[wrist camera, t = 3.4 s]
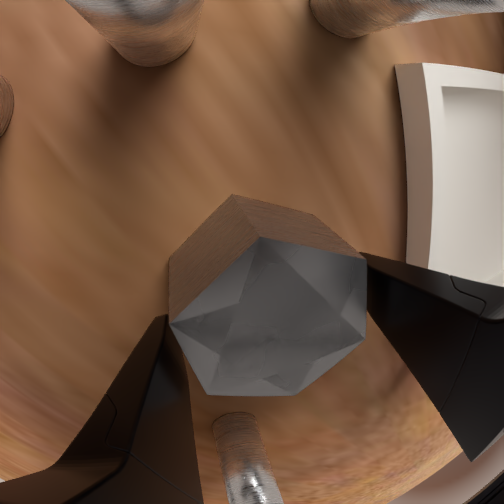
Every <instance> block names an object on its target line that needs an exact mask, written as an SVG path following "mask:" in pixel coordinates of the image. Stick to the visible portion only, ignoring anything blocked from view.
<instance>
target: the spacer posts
mask: <svg viewBox="0 0 504 504" xmlns="http://www.w3.org/2000/svg"><path fill="white" fill-rule="evenodd" d="M66 1H67V2H68V3H69V4H70V5H71V6H72V7H73V8H74V9H75V10H76V11H77V12H78V13H79V14H80V15H81V16H82V17H83V18H84V19H85V20H86V21H87V22H88V23H89V24H90V25H92V26H93V27H94V28H95V29H96V30H97V31H98V32H99V33H100V34H101V35H102V36H103V37H104V38H105V39H106V40H107V41H108V42H109V43H110V44H111V45H112V46H113V47H114V48H115V49H116V50H117V51H118V52H119V53H120V55H121V56H122V57H123V58H125V59H126V60H127V61H129V62H131V63H133V64H136V65H139V66H146V67H153V66H160V65H164V64H166V63H169V62H171V61H173V60H175V59H177V58H178V57H180V56H181V55H182V54H183V53H184V52H185V51H186V50H187V49H188V48H189V47H190V45H191V44H192V42H193V40H194V38H195V34H196V31H197V27H198V22H199V18H200V15H201V11H202V7H203V3H204V0H66ZM309 1H310V7H311V10H312V12H313V14H314V16H315V17H316V19H317V20H318V21H319V23H320V24H321V25H322V26H323V27H325V28H326V29H327V30H328V31H330V32H332V33H333V34H336V35H338V36H341V37H345V38H356V37H360V36H363V35H367V34H370V33H374V32H378V31H382V30H385V29H389V28H393V27H398V26H402V25H407V24H411V23H416V22H421V21H426V20H432V19H438V18H444V17H451V16H459V15H468V14H478V13H491V12H504V0H309ZM13 104H14V98H13V91H12V88H11V85H10V84H9V82H8V81H7V79H5V78H4V77H3V76H0V137H1V136H2V134H3V133H4V132H5V130H6V128H7V126H8V124H9V122H10V119H11V116H12V112H13ZM212 427H213V433H214V438H215V443H216V448H217V452H218V457H219V462H220V466H221V471H222V475H223V480H224V484H225V488H226V493H227V497H228V501H229V504H284V503H283V500H282V497H281V494H280V491H279V488H278V486H277V483H276V480H275V477H274V474H273V471H272V468H271V465H270V462H269V459H268V456H267V453H266V450H265V447H264V443H263V440H262V437H261V434H260V431H259V428H258V425H257V421H256V418H255V417H254V416H253V415H251V414H249V413H242V412H238V413H231V414H227V415H224V416H222V417H220V418H218V419H217V420H216V421H215V422H214V423H213V426H212Z"/></svg>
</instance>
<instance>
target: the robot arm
mask: <svg viewBox="0 0 504 504" xmlns="http://www.w3.org/2000/svg"><path fill="white" fill-rule="evenodd" d="M358 253H360V254H361V255H362V256H363V257H364V258H365V259H366V260H367V311H368V313H369V314H370V316H371V317H372V319H373V320H374V322H375V323H376V324H377V326H378V327H379V328H380V330H381V331H382V332H383V334H384V335H385V336H386V338H387V339H388V340H389V342H390V343H391V345H392V346H393V347H394V349H395V350H396V351H397V353H398V354H399V356H400V357H401V358H402V360H403V361H404V362H405V364H406V365H407V367H408V368H409V370H410V371H411V372H412V374H413V375H414V377H415V378H416V379H417V381H418V382H419V384H420V385H421V387H422V388H423V390H424V391H425V392H426V394H427V395H428V397H429V398H430V400H431V401H432V403H433V404H434V406H435V407H436V409H437V410H438V412H440V415H441V417H442V418H443V420H444V421H445V423H446V424H447V426H448V427H449V429H450V430H451V432H452V433H453V435H454V437H455V438H456V440H457V441H458V443H459V444H460V446H461V448H462V449H463V451H464V452H465V454H466V456H467V457H468V459H469V460H470V461H471V462H472V461H474V460H475V459H476V458H477V457H479V456H480V455H481V454H482V453H483V452H485V451H486V450H487V449H488V448H489V447H490V446H492V445H493V444H494V443H495V442H496V441H497V440H498V439H499V438H500V437H501V436H503V435H504V287H502V286H497V285H492V284H486V283H482V282H477V281H472V280H468V279H464V278H460V277H457V276H453V275H450V276H449V274H445V273H442V272H438V271H434V270H430V269H426V268H423V267H419V266H415V265H411V264H407V263H403V262H399V261H395V260H391V259H387V258H383V257H379V256H375V255H371V254H367V253H363V252H358ZM106 393H107V394H105V395H104V396H103V398H102V400H101V401H100V403H99V404H98V406H97V408H96V409H95V411H94V412H93V414H92V415H91V417H90V418H89V419H88V421H87V422H86V424H85V425H84V426H83V428H82V429H81V430H80V432H79V433H78V434H77V436H76V437H75V438H74V440H73V441H72V443H71V444H70V445H69V447H68V448H67V449H66V451H65V452H64V453H63V455H62V456H61V457H60V458H59V460H58V461H57V462H56V463H55V464H53V465H52V466H50V467H49V468H47V469H45V470H42V471H39V472H36V473H33V474H30V475H26V476H23V477H20V478H16V479H12V480H9V481H5V482H1V483H0V504H204V502H203V496H202V490H201V484H200V477H199V470H198V463H197V456H196V448H195V440H194V432H193V423H192V414H191V404H190V394H189V384H188V377H187V372H186V367H185V363H184V358H183V353H182V348H181V346H180V345H179V343H178V341H177V339H176V337H175V335H174V333H173V331H172V329H171V327H170V325H169V315H168V314H164V315H161V316H157V317H155V318H154V320H153V321H152V323H151V324H150V326H149V327H148V329H147V330H146V332H145V333H144V335H143V336H142V338H141V339H140V341H139V342H138V344H137V345H136V347H135V348H134V350H133V351H132V353H131V354H130V356H129V357H128V359H127V361H126V362H125V364H124V365H123V367H122V368H121V370H120V371H119V373H118V374H117V376H116V378H115V379H114V381H113V382H112V384H111V386H110V387H109V389H108V390H107V392H106ZM463 504H504V470H503V471H502V472H500V473H499V474H498V475H497V476H496V477H495V478H494V479H493V480H492V481H491V482H489V483H488V484H487V485H486V486H485V487H483V489H481V490H480V491H479V492H477V493H476V494H475V495H474V496H473V497H471V498H470V499H469V500H467V501H466V502H465V503H463Z"/></svg>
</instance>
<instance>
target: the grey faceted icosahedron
mask: <svg viewBox="0 0 504 504" xmlns="http://www.w3.org/2000/svg"><path fill="white" fill-rule="evenodd" d="M366 310H367V260H366V259H365V258H364V257H363V256H362V255H361V254H360V253H358V252H357V251H356V250H355V249H354V248H353V247H351V246H350V245H349V244H348V243H347V242H345V241H344V240H343V239H342V238H341V237H339V236H338V235H337V234H336V233H335V232H333V231H332V230H331V229H330V228H329V227H327V226H326V225H325V224H324V223H323V222H321V221H320V220H319V219H318V218H316V217H315V216H314V215H312V214H309V213H305V212H301V211H297V210H294V209H290V208H286V207H282V206H278V205H274V204H270V203H266V202H262V201H258V200H254V199H250V198H246V197H242V196H238V195H233V194H232V195H231V196H230V197H229V198H228V199H227V200H226V201H224V202H223V203H222V204H221V205H220V206H219V207H218V208H217V209H216V210H215V211H214V212H213V213H212V214H211V215H210V216H209V217H208V218H207V219H206V220H205V221H204V222H203V223H202V225H201V226H200V227H199V228H198V229H197V230H196V231H195V232H194V233H193V234H192V235H191V236H190V237H189V238H188V239H187V240H186V241H185V242H184V243H183V244H182V245H181V246H180V247H179V248H178V249H177V250H176V251H175V252H174V253H173V255H172V256H171V257H170V258H169V325H170V327H171V329H172V331H173V333H174V335H175V337H176V339H177V341H178V343H179V345H180V346H181V348H182V350H183V352H184V354H185V356H186V358H187V360H188V361H189V363H190V365H191V367H192V369H193V371H194V372H195V374H196V376H197V378H198V380H199V381H200V383H201V385H202V387H203V388H204V390H205V392H206V394H207V395H223V396H292V395H296V394H298V393H299V392H300V391H302V390H303V389H304V388H306V387H307V386H308V385H310V384H311V383H312V382H314V381H315V380H316V379H318V378H319V377H320V376H322V375H323V374H324V373H325V372H327V371H328V370H329V369H330V368H332V367H333V366H334V365H335V364H337V363H338V362H339V361H340V360H342V359H343V358H344V357H345V356H346V355H348V354H349V353H350V352H351V351H352V350H353V349H355V348H356V347H357V346H358V345H359V344H360V343H362V342H363V341H364V340H365V337H366Z"/></svg>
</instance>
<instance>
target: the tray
mask: <svg viewBox="0 0 504 504" xmlns="http://www.w3.org/2000/svg"><path fill="white" fill-rule="evenodd" d="M395 71H396V76H397V82H398V89H399V95H400V102H401V110H402V119H403V128H404V139H405V151H406V168H407V201H408V219H407V252H406V263H407V264H411V265H415V266H419V267H423V268H426V269H430V270H434V271H438V272H442V273H445V274H449V276H450V275H453V276H457V277H460V278H464V279H468V280H472V281H477V282H482V283H486V284H492V285H497V286H502V287H504V74H501V73H496V72H491V71H485V70H480V69H473V68H467V67H460V66H452V65H443V64H432V63H410V64H398V65H395Z"/></svg>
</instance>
